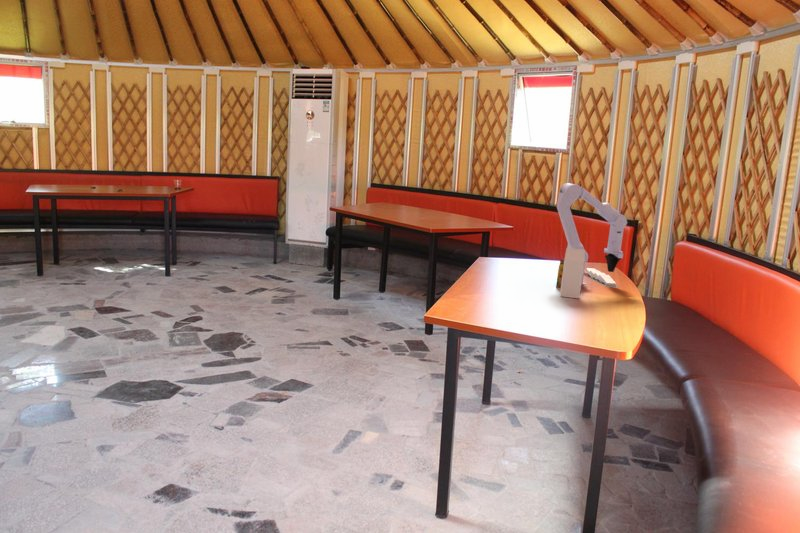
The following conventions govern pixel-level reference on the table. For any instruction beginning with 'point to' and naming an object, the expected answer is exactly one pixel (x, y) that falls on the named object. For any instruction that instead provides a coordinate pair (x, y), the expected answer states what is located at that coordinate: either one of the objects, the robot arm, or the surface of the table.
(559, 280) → the crayon box
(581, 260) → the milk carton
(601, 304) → the table surface
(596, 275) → the tile
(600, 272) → the tile
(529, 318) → the table surface
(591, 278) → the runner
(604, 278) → the tile
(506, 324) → the table surface
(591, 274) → the tile
